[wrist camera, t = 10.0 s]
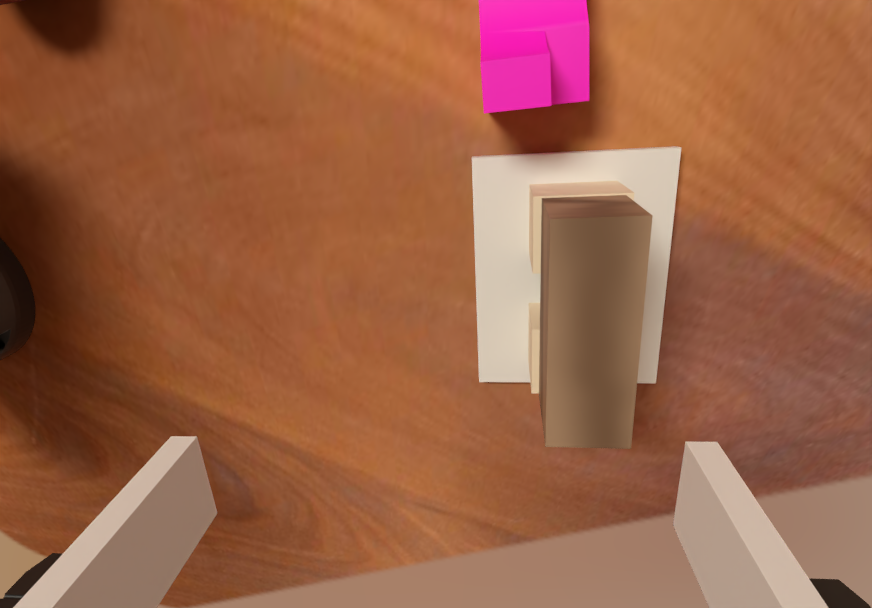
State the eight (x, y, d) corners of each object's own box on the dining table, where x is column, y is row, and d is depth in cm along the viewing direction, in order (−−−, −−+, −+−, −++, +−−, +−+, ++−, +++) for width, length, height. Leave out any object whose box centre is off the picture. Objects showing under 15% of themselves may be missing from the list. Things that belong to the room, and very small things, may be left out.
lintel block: (538, 394, 37) (545, 446, 31) (541, 198, 32) (550, 218, 26) (611, 395, 36) (631, 448, 31) (625, 194, 31) (652, 215, 26)
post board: (479, 375, 44) (476, 416, 38) (472, 156, 37) (467, 166, 32) (652, 377, 42) (675, 419, 36) (676, 146, 35) (709, 155, 30)
